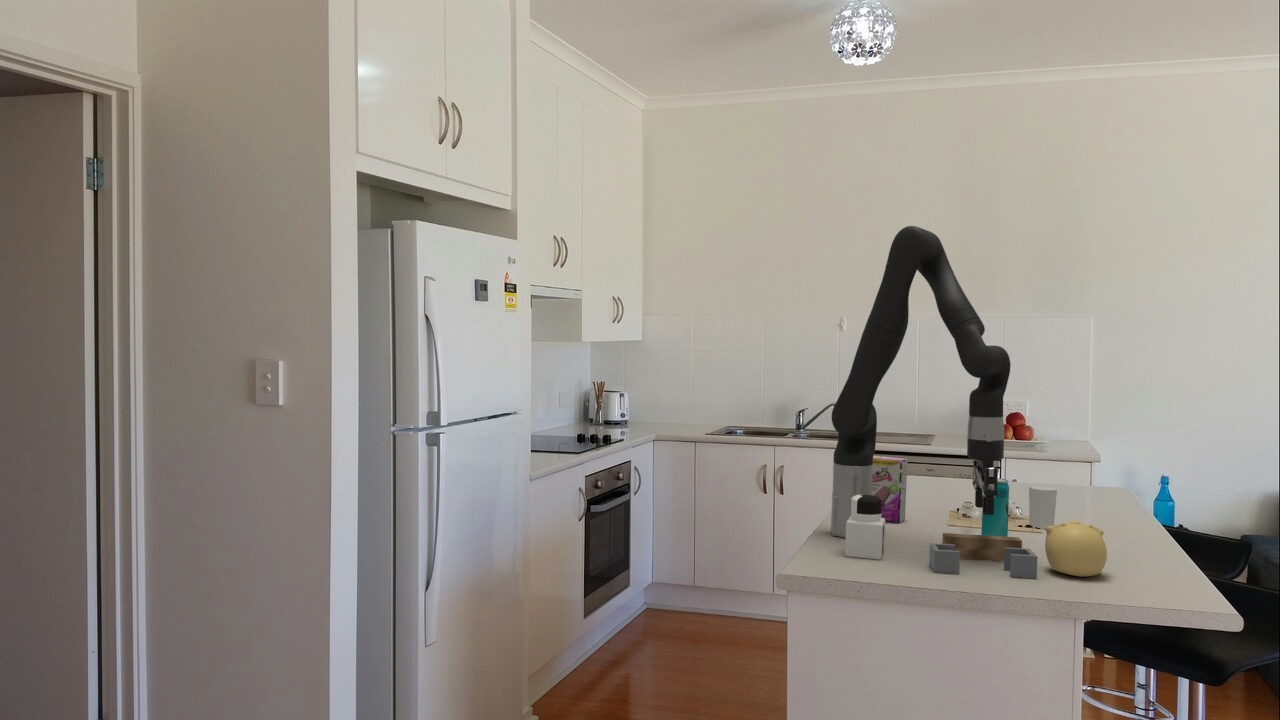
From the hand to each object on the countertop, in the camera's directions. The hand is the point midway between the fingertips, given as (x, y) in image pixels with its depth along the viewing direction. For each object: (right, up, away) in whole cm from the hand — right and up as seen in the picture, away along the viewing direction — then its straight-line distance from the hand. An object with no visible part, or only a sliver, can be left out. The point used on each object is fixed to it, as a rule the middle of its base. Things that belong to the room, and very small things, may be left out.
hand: (984, 510), depth 210 cm
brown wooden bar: (-1, -11, 0) cm, 11 cm away
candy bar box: (-12, -9, +41) cm, 43 cm away
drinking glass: (+28, -10, +36) cm, 47 cm away
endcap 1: (-12, -11, -10) cm, 19 cm away
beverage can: (+8, -10, +16) cm, 21 cm away
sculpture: (+15, -11, -11) cm, 22 cm away
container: (-26, -10, +1) cm, 28 cm away
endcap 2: (+3, -11, -12) cm, 17 cm away
